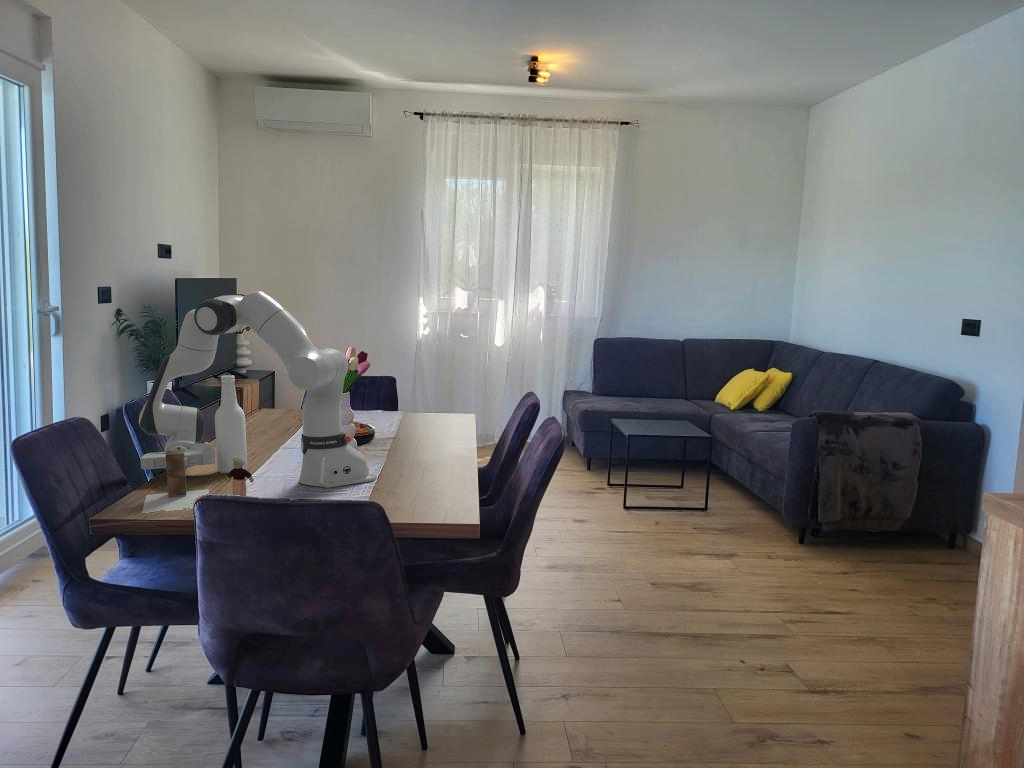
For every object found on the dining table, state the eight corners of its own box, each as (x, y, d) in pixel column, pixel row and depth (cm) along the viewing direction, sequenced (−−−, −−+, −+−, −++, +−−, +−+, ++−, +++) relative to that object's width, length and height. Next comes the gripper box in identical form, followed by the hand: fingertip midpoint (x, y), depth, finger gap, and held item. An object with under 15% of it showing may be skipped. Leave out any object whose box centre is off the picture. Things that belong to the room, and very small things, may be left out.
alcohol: (216, 475, 235) (210, 378, 231) (219, 468, 244) (213, 374, 239) (246, 473, 238) (241, 377, 233) (248, 466, 246) (243, 373, 242)
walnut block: (186, 491, 216) (184, 450, 214) (186, 496, 212) (183, 453, 210) (169, 493, 214) (166, 451, 212) (168, 497, 210) (165, 455, 208)
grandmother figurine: (224, 503, 206) (221, 457, 205) (228, 499, 210) (225, 454, 208) (253, 503, 207) (251, 457, 205) (256, 499, 211) (254, 453, 209)
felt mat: (208, 490, 219) (208, 489, 219) (208, 508, 202) (208, 506, 202) (146, 496, 213) (146, 495, 213) (141, 515, 196) (141, 513, 196)
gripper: (141, 447, 230) (137, 457, 218) (214, 441, 238) (214, 451, 225) (142, 467, 231) (138, 479, 219) (215, 461, 239) (215, 472, 226)
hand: (177, 465), depth 222 cm, fingers closed
